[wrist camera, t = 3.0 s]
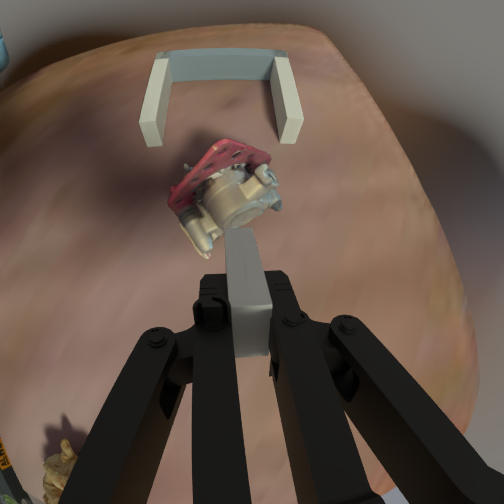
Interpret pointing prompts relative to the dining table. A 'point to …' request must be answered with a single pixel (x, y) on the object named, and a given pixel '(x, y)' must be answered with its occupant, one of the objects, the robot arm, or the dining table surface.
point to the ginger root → (58, 472)
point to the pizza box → (10, 482)
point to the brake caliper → (223, 192)
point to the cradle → (221, 68)
